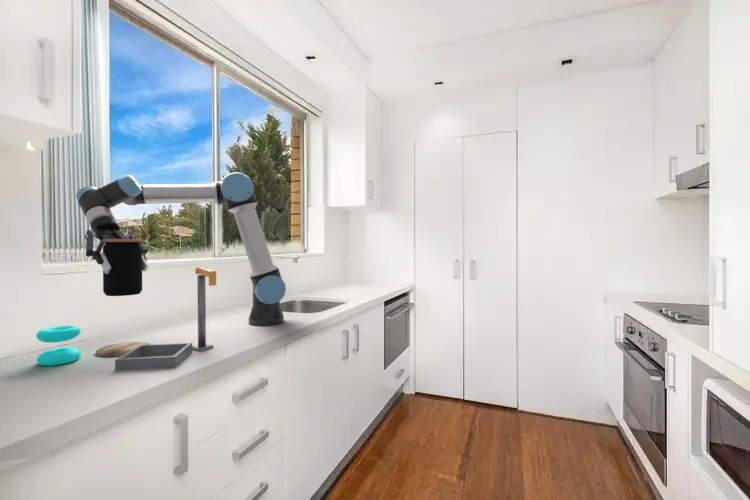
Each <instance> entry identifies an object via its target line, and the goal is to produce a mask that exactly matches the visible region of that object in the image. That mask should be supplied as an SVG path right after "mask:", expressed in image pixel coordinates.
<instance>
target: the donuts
mask: <svg viewBox="0 0 750 500" xmlns="http://www.w3.org/2000/svg"><path fill="white" fill-rule="evenodd" d="M81 332H82V331H81V328H80V326H77V325H58V326H50V327H45V328H43V329H40V330H39V331H37V333H36V339H37V340H38V341H40V342H42V343H48V344H49V343H61V342H62V343H63V342H67V341H71V340H73V339H75V338H77V337H78V336H79V335H80V334H81ZM81 355H82V353H81V351H80V350H79V349H78V348H75V347H70V346H69V347H57V348H53V349H49V350H48V349H47V350H45V351H43V352H41V353H40V354H39V355H38V356H37V358H36V363H37V364H38V365H40V366H44V367H52V366H54V367H55V366H61V365H62V366H63V365H65V364H70V363H73V362H75V361H77V360H79V359H80V358H81Z"/></svg>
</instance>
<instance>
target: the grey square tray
mask: <svg viewBox="0 0 750 500" xmlns="http://www.w3.org/2000/svg"><path fill="white" fill-rule="evenodd" d="M192 346H193V342H181V343H180V342H179V343H159V344H157V343H156V344H154V343H153V344H151V345H139V346H138V347H136V348H134V349H132V350H131V351H129V352H127V353H126V354H124V355H122V356H118V357H117V358H116V359H114V371H115V372H116V371H134V370H136V371H137V370H151V369H153V370H154V369H169V368H170V369H171V368H172V369H173V368H177V366H179V365H180V364H181V363H182V362H184V360H186V359H187V358H188V357H189V356H190V355H191V354H192V353H193V350H192ZM155 355H156V356H155ZM157 355H158V356H157ZM160 355H164V356H160ZM142 356H143V357H142ZM144 356H146V357H144Z"/></svg>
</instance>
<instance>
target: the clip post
mask: <svg viewBox="0 0 750 500" xmlns="http://www.w3.org/2000/svg"><path fill="white" fill-rule="evenodd" d="M196 275H197V276H196V277H197V278H196V279H197V280H196V281H197V344H194V345H192V351H196V352H202V351H208V350H211V349H214V344H210V343H207V330H206V329H207V327H206V326H207V324H206V323H207V322H206V321H207V319H206V318H207V317H206V316H207V315H206V310H207V309H206V303H207V302H206V276H204V275H201V274H196Z"/></svg>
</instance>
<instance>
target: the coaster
mask: <svg viewBox="0 0 750 500" xmlns="http://www.w3.org/2000/svg"><path fill="white" fill-rule="evenodd" d="M139 345H152V344H151V343H150V342H146V341H129V342H120V343H114V344H110V345H105V346H103V347H99V348H98V349H97V350H96V351H95V355H96V356H97V357H102V358H116V357H117V358H119V357H121V356H122V355H124V354H126V353H127V352H129V351H131V350H132V349H134V348H136V347H138V346H139Z"/></svg>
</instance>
